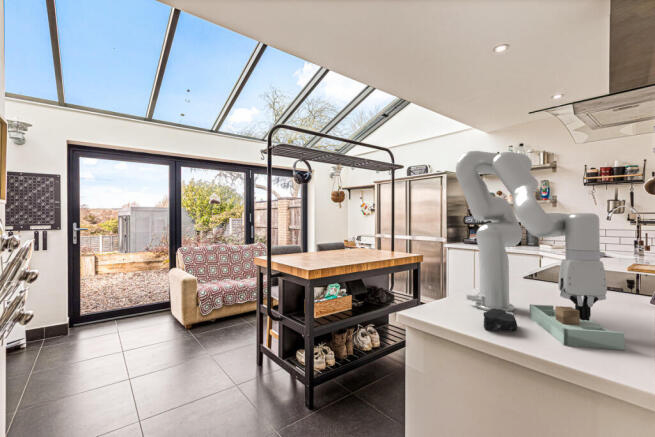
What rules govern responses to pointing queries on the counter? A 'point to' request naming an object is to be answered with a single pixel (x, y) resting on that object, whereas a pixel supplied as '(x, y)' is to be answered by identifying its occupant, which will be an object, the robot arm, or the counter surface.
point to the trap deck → (576, 330)
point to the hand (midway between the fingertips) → (582, 318)
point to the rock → (499, 320)
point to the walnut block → (567, 315)
